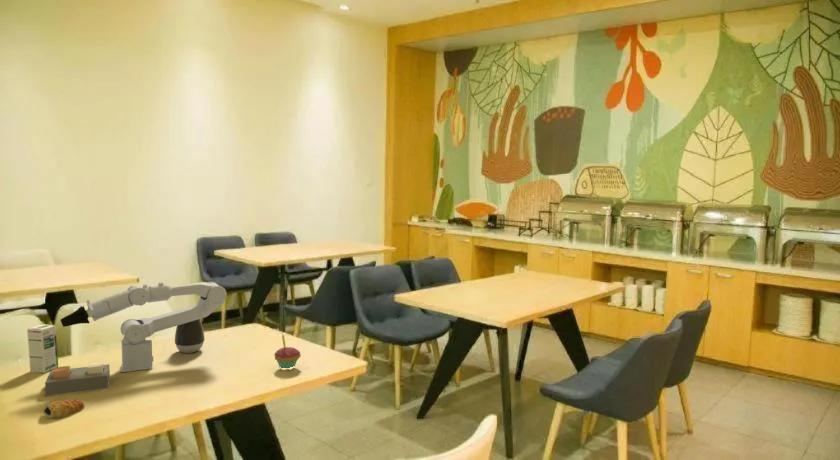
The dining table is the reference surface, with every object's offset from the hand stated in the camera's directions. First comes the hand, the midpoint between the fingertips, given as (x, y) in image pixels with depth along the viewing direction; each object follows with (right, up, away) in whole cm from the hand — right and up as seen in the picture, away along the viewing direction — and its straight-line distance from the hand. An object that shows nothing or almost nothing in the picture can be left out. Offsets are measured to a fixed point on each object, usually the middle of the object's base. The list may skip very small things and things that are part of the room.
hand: (61, 323), depth 183 cm
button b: (+3, -16, -6) cm, 18 cm away
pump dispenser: (+27, -15, +32) cm, 45 cm away
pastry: (+14, -21, -23) cm, 35 cm away
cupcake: (+67, -18, +15) cm, 71 cm away
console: (+8, -19, -4) cm, 20 cm away
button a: (+12, -16, -2) cm, 20 cm away
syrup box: (-12, -17, +10) cm, 23 cm away
